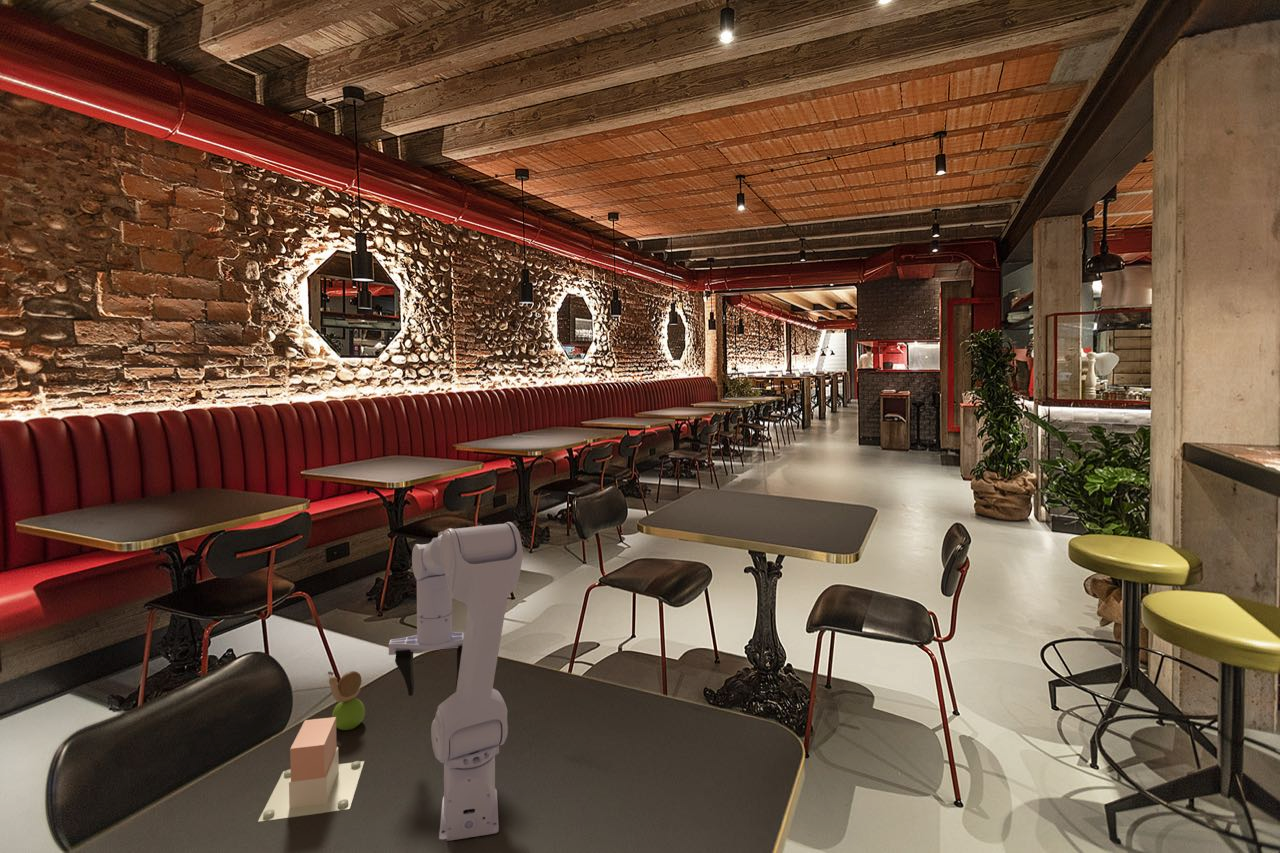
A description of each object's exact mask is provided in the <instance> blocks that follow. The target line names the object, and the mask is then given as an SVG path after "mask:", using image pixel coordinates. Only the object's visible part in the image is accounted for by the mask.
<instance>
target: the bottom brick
mask: <svg viewBox="0 0 1280 853" xmlns="http://www.w3.org/2000/svg"><path fill="white" fill-rule="evenodd" d="M339 764H340V763H339V747H338V746H337V747H336V750H335V752H334V755H333V758H332V760H331V763H330V765H329V768H328V770H327V773H326V775H325V778H317V779H310V780H302V781H294V782H291V779H290V781H289V809H291V808H298V807H305V806H312V805H320V804H327V802H328V799H329V796H330V793H331V791H332V788H333V785H334V783H335V780H336V777H337V774H338V772H339Z"/></svg>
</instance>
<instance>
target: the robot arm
mask: <svg viewBox="0 0 1280 853" xmlns="http://www.w3.org/2000/svg"><path fill="white" fill-rule="evenodd" d="M522 543H523V542H522V538H521V533H520V531H519V529H518V527H517V526H516V525H515V524H514V523H513V522H511V521H507V522H504V523H497V524H486V525H485V524H484V525H477V526H469V527H459V528H451V527H449V528H446V529H445V530H444V531H439V532H438V533H437V537H433V538H432V539H431V541H430V542H429V543H425V544H419V543H415V544H414V546H413V548H412V553H411V566H412V572H413V575H414V578H415V580H416V634H415V635H411V636H406V637H401V638H392V639H390V640H389V643H388V656H395V659H394V663H395V665H396V667H397V668H398V670H399V672H400V673H401V675H402V677H403V679H404V681H405V685H406V688H407V694H408V697H410V696H414V692H415V676H414V652H423V651H434V650H448V649H456V680H455V682H456V683H455V692H453V694H451V695H450V696H449V697H447V698H446V699H445V700H443V702H441V703H439V705H438V706H437V710H436V712H435V715H434V716H435V717H434V719H433V720H432V723H431V726H430V727H431V728H430V730H431V731H430V736H431V745H432V749H433V753H434V757H435V759H436V760H437V761H439V763H441V764H443V797H442V802H441V811H440V822H439V825H440V826H439V831H438V832H439V833H438V835H439V836H438V839H439V840H445V841H446V842H449V841H455V840H463V839H469V838H473V837H480V836H487V835H494V834H497V833H498V832H499V828H500V826H499V809H498V808H499V807H498V806H499V804H498V790H497V788H496V761H495V760H496V755H498V754H500V746H502V745H504V744H505V742H506V739H507V738H508V733H509V732H508V730H509V725H508V708H507V704H506V702H505V700H504V698H503V696H502V694H501V693H500V692H499V690H498V689H495V688H494V682H495V675H496V669H497V664H498V657H499V652H500V645H501V639H502V633H503V627H504V621H505V614H506V609H507V602H508V596H509V595H510V594H512V593H513V591H515V590H516V589H517V588H518V584H519V579H520V575H521V569H522V564H523V556H524V549H523V545H522ZM453 600H456V601H459V602H461V603H464V604H465V605H466V607H467V611H466V617H465V626H464V632H458V631H453Z"/></svg>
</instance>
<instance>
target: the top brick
mask: <svg viewBox="0 0 1280 853" xmlns="http://www.w3.org/2000/svg"><path fill="white" fill-rule="evenodd" d="M336 747H338V746H337V727H336V717H332V716H331V717H323V718H313V719H305V720H304V721H303V723H302V726H301V727H300V729H299V731H298V733H297V735H296V737H295V739H294V740H293V743H292V745H291V747H290V750H289V752H290V754H289V756H290V757H289V758H290V769H291V782H294V781H302V780H310V779H317V778H325V775H326V773H327V770H328V768H329V765H330V763H331V760H332V758H333V755H334V752H335V750H336Z"/></svg>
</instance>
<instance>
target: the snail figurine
mask: <svg viewBox="0 0 1280 853" xmlns="http://www.w3.org/2000/svg"><path fill="white" fill-rule="evenodd" d="M327 674H328V678H329V679H328V684H329V686H330V691H331V694H332V696H333V698H334V700H335V701H336V702H338V703H337V704H336V705H335V706H334V708H333V711H332V714H331V717H336V729H337V730H341V731H349V730H353V729H355V728H357V727H358V726H360V724H361V723H362V722H363V720H364V718H365V715H366V708H365V705H364V703H363V701H361V700H360V699H359V698H356V697H357V696H359V693H360V691H361V689H362V688H361V685H362V676H361V674H360V673H359V672H358V671H354V670H352V671H348V672H346V673H345V674H344V675H343V676H342V677H341V678H340V679H339V680H338V678H337V677H336V676H333V675H334V674H335V673H334V672H333V671H331V670H329V671H328V672H327ZM354 692H355V693H354Z"/></svg>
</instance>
